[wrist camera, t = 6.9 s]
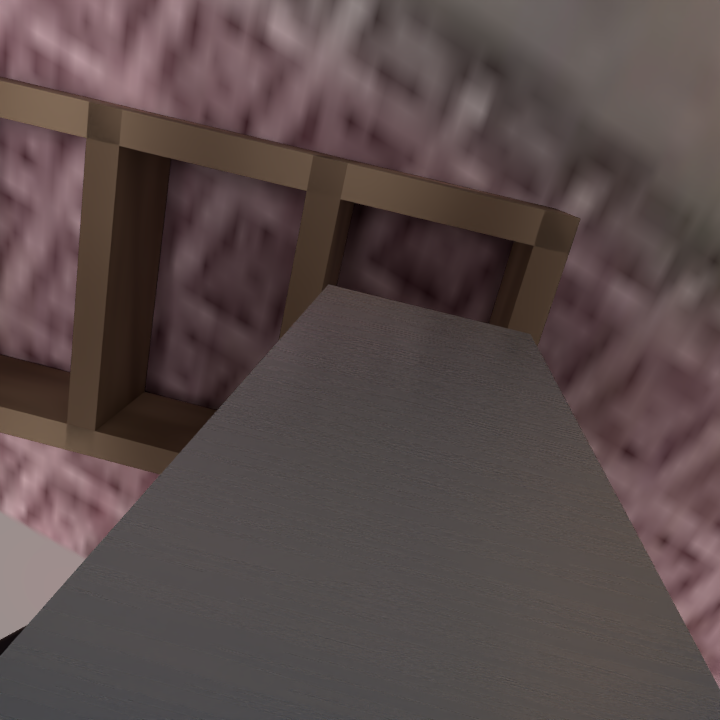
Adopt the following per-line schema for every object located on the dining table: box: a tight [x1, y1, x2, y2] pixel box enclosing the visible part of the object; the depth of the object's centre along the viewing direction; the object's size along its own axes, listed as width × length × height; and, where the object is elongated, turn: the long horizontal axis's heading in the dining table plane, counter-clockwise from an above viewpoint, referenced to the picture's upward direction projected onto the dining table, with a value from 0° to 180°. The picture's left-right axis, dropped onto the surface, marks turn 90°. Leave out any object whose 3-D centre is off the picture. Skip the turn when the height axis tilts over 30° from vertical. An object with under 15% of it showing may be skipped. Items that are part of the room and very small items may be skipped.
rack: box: [0, 77, 580, 474], centre depth 17 cm, size 17×10×3 cm, turn 77°
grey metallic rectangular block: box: [0, 284, 720, 720], centre depth 6 cm, size 3×6×8 cm, turn 167°
